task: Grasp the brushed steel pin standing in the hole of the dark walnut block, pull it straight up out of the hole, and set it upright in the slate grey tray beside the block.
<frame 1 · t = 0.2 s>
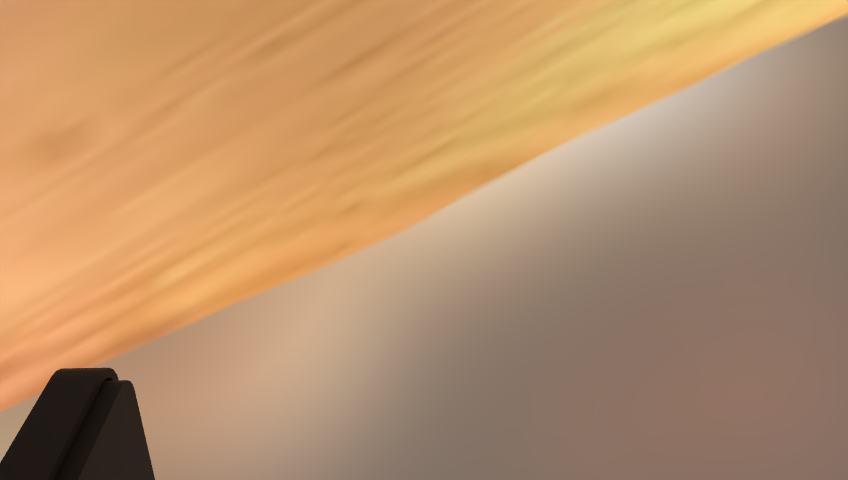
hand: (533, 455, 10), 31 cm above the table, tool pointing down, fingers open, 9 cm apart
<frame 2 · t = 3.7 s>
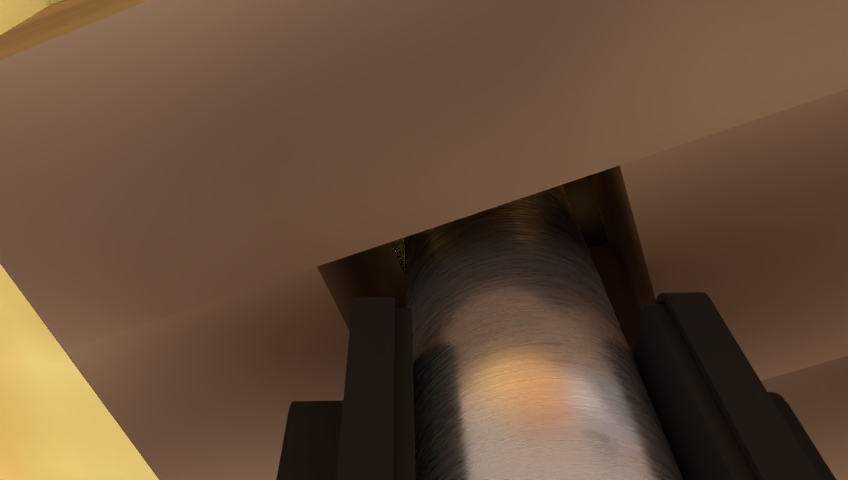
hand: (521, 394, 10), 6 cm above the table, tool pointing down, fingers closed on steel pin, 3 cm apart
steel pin: (527, 424, 10), in the walnut block, touching gripper
walnut block: (480, 188, 16), on the table
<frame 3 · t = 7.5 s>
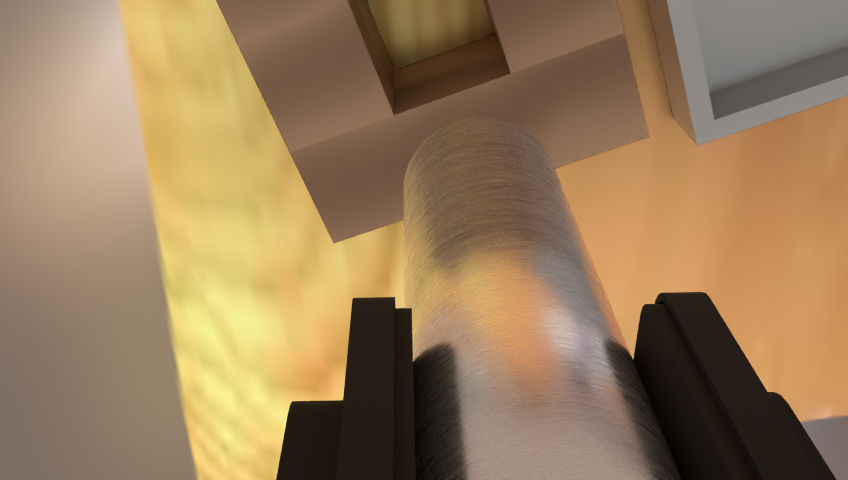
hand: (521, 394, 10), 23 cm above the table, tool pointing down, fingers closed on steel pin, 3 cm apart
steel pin: (526, 424, 10), point 24 cm above the table, touching gripper
walnut block: (425, 1, 31), on the table
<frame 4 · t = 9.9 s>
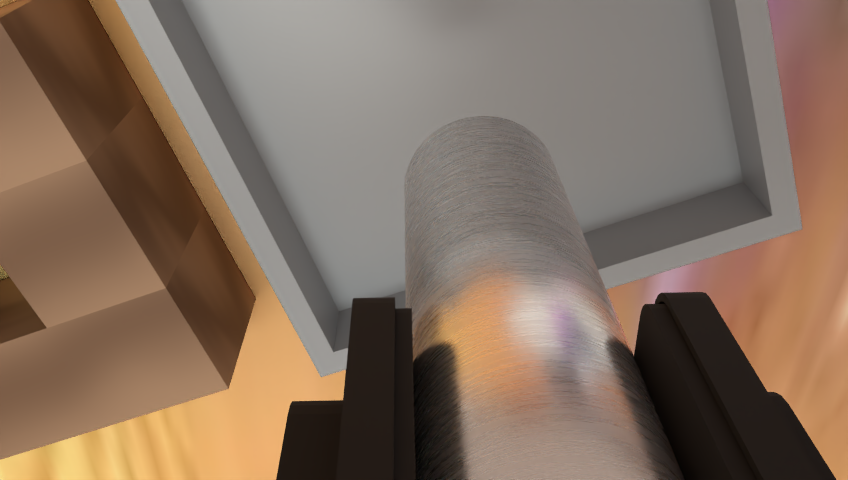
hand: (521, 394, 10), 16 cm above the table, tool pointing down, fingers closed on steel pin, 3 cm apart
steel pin: (528, 425, 10), point 17 cm above the table, touching gripper
grey tray: (464, 49, 25), on the table
walnut block: (16, 212, 27), on the table
when the fingers open (8 cm above the table, at t = 11.5 s): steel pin drops 2 cm, resting on grey tray.
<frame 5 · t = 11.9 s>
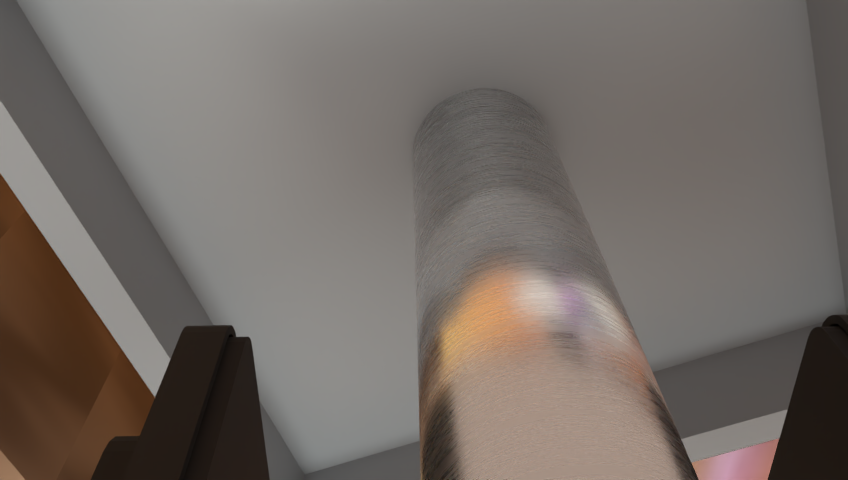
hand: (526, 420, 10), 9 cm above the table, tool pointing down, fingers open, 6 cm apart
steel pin: (523, 346, 11), in the grey tray, point 7 cm above the table
grey tray: (471, 145, 18), on the table
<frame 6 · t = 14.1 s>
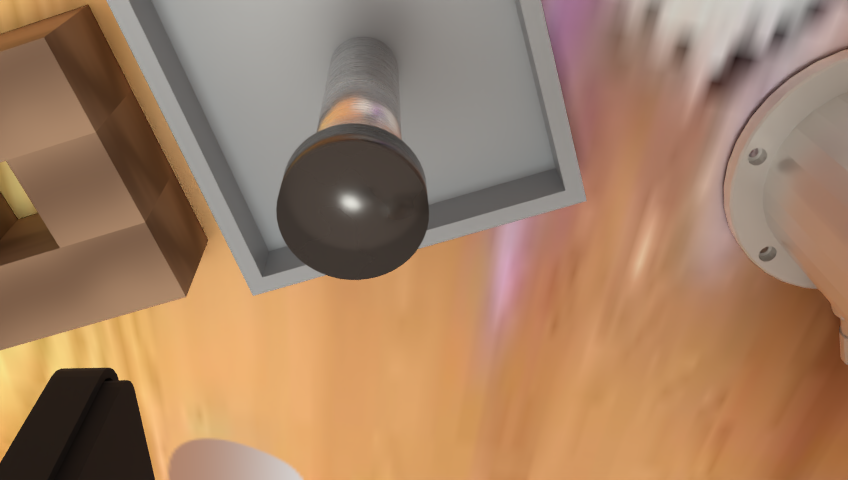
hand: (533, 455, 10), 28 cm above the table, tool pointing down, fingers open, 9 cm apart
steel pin: (359, 128, 29), in the grey tray, point 7 cm above the table
grey tray: (360, 67, 36), on the table
walnut block: (34, 169, 37), on the table
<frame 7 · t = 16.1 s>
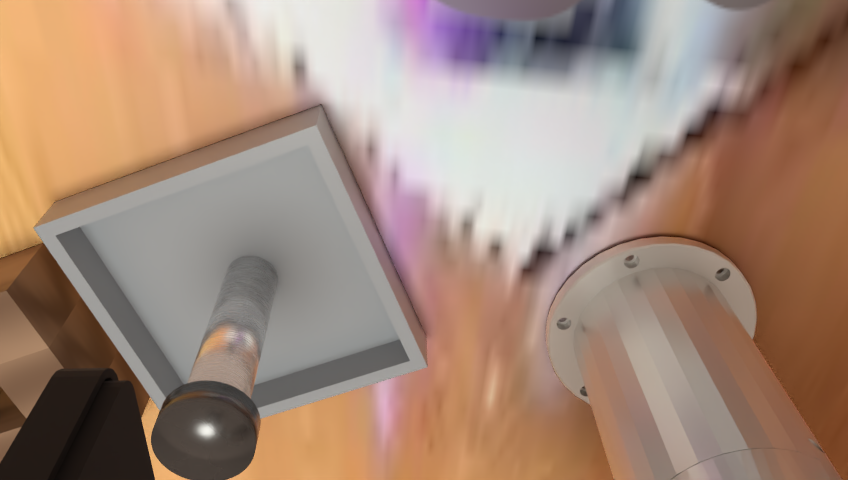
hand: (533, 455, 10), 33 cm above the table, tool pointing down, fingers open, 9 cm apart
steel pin: (231, 349, 40), in the grey tray, point 7 cm above the table
grey tray: (250, 273, 47), on the table
walnut block: (13, 353, 49), on the table
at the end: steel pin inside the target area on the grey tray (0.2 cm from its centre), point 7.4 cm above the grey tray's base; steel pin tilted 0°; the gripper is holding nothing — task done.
